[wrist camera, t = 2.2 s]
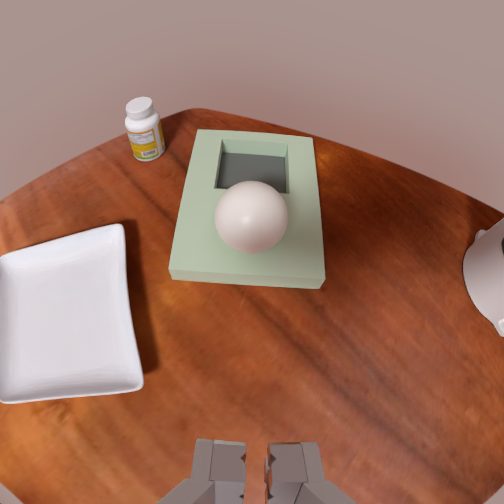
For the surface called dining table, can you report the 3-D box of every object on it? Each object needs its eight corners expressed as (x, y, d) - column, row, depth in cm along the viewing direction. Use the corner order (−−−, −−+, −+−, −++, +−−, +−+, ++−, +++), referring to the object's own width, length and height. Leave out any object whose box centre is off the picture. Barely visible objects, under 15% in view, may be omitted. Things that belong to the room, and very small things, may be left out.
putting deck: (308, 151, 50) (312, 137, 48) (319, 288, 39) (325, 279, 36) (198, 143, 50) (197, 129, 47) (172, 279, 38) (168, 268, 36)
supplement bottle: (148, 136, 50) (138, 90, 42) (172, 146, 49) (164, 98, 41) (127, 155, 48) (113, 110, 39) (150, 166, 47) (138, 118, 38)
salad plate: (7, 265, 38) (-5, 254, 35) (129, 233, 42) (122, 219, 39) (11, 406, 28) (-5, 404, 25) (154, 390, 32) (146, 388, 29)
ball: (282, 211, 40) (292, 168, 33) (282, 268, 37) (294, 231, 30) (219, 207, 40) (217, 163, 33) (212, 264, 36) (208, 225, 29)
